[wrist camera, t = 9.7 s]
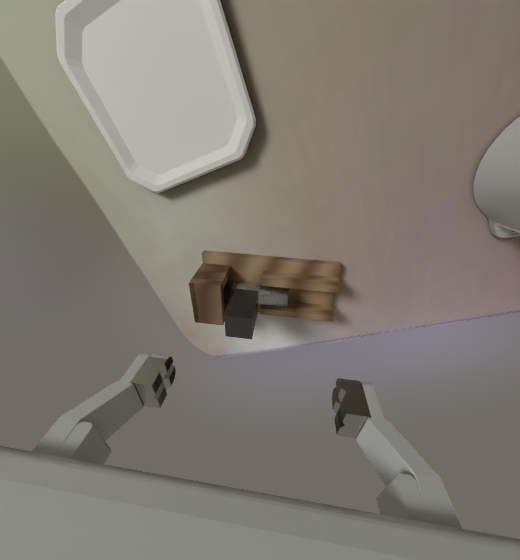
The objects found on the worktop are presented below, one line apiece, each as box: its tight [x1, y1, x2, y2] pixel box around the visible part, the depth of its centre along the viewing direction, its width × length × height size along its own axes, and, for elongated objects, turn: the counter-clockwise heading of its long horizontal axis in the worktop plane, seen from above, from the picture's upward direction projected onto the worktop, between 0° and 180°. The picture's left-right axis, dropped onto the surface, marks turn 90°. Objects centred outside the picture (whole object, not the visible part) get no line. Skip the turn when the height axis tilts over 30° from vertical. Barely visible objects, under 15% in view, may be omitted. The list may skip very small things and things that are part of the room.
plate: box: [55, 0, 256, 193], centre depth 29 cm, size 21×21×2 cm
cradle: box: [189, 251, 342, 325], centre depth 40 cm, size 24×12×8 cm, turn 88°
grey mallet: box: [223, 281, 289, 339], centre depth 38 cm, size 14×4×11 cm, turn 88°
